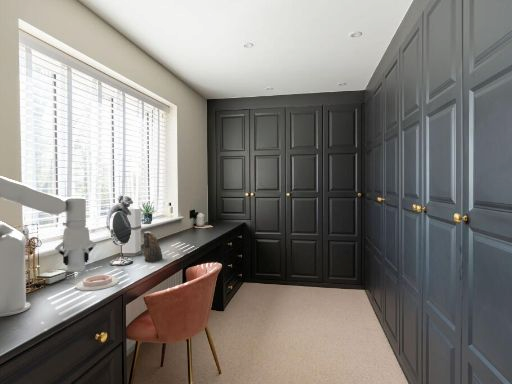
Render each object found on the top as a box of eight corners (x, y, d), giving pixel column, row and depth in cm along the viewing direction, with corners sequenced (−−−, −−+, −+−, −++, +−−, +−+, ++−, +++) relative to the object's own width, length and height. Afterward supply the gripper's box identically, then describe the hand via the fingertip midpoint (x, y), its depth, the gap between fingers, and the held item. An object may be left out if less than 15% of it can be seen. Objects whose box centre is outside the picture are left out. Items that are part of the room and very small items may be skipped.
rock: (149, 263, 200) (149, 233, 200) (136, 261, 206) (136, 232, 206) (163, 259, 212) (163, 230, 211) (150, 257, 217) (150, 229, 217)
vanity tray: (81, 293, 142) (81, 287, 142) (71, 284, 157) (71, 278, 157) (124, 284, 156) (124, 278, 156) (111, 276, 171) (111, 270, 171)
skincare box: (85, 269, 138) (85, 242, 138) (80, 271, 134) (80, 244, 134) (71, 269, 138) (71, 243, 138) (66, 272, 133) (66, 244, 133)
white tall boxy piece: (141, 252, 232) (141, 207, 232) (135, 256, 221) (135, 208, 221) (127, 252, 232) (126, 207, 232) (120, 256, 222) (119, 208, 221)
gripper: (55, 226, 127) (55, 268, 127) (99, 223, 139) (99, 261, 139) (51, 225, 132) (51, 265, 132) (94, 222, 144) (94, 259, 144)
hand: (76, 263), depth 136 cm, fingers closed on skincare box, 7 cm apart
